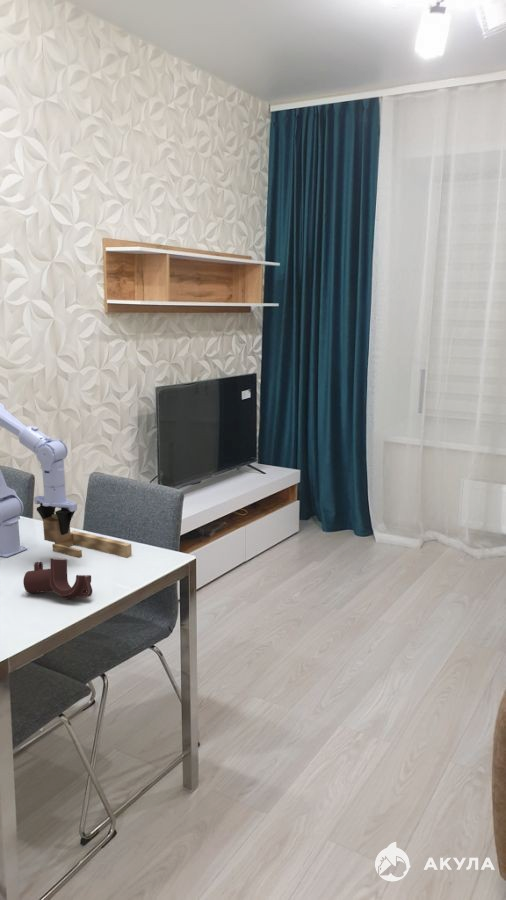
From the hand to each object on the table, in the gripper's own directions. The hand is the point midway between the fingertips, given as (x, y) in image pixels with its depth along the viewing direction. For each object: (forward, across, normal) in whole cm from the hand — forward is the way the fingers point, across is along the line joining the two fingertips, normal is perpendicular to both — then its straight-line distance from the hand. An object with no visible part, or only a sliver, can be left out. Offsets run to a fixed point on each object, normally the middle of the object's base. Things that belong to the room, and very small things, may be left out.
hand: (57, 531), depth 200 cm
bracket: (+9, +17, -16) cm, 25 cm away
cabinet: (+2, 0, 0) cm, 2 cm away
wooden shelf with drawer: (+8, +4, +9) cm, 13 cm away
